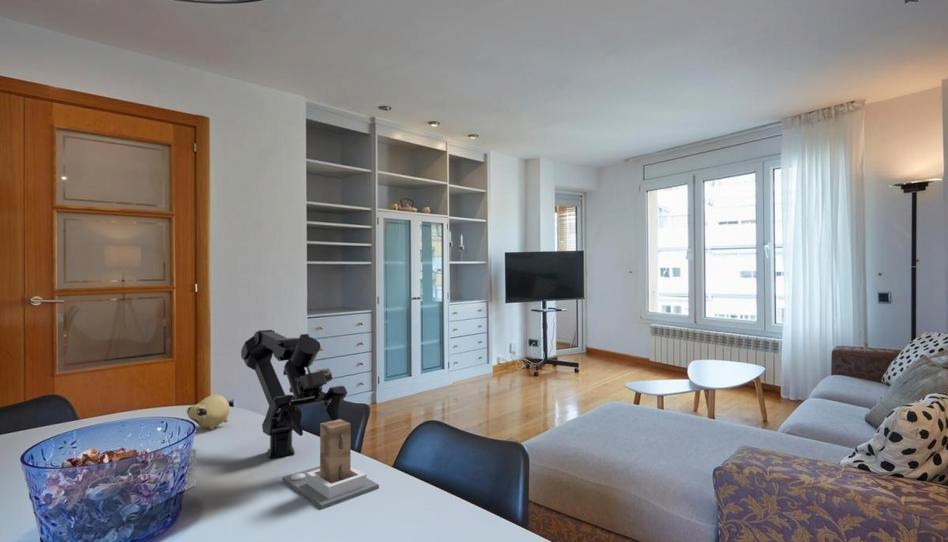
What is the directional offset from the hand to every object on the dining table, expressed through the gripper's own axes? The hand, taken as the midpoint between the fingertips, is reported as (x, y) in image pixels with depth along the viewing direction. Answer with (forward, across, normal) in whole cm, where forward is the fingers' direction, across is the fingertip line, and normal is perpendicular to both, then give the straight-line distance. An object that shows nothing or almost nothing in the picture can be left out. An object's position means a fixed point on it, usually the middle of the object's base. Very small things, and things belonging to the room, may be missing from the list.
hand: (320, 430), depth 113 cm
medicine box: (-5, -26, +22) cm, 34 cm away
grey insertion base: (+12, 0, +5) cm, 13 cm away
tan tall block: (+13, 0, +2) cm, 13 cm away
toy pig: (-36, -7, +53) cm, 64 cm away
